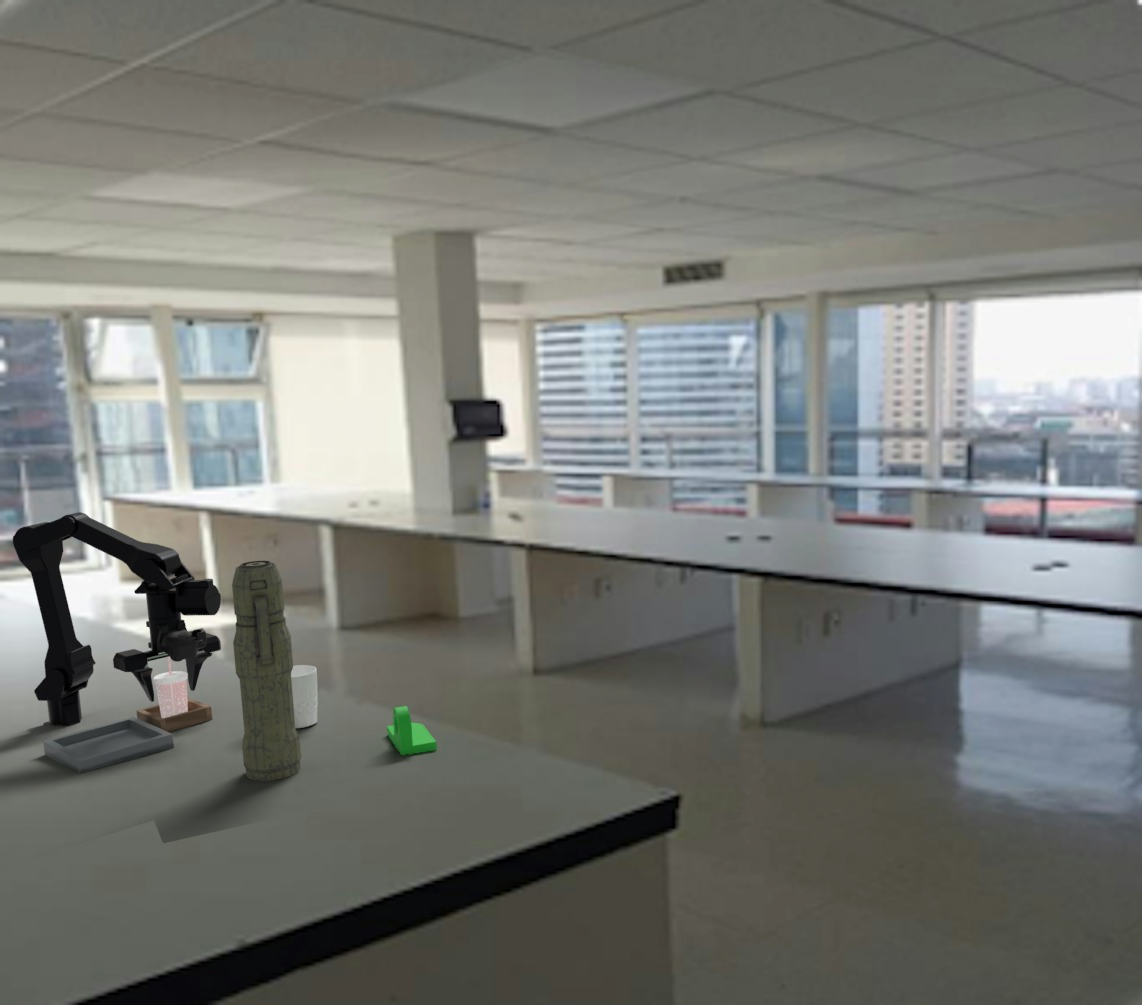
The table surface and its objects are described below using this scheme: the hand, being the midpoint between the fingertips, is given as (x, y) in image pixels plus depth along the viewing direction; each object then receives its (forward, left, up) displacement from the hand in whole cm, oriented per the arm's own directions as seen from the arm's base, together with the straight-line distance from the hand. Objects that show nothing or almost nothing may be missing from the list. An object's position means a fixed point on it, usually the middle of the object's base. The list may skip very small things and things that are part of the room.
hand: (172, 695), depth 198 cm
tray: (+6, -15, -5) cm, 17 cm away
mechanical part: (+47, +20, -6) cm, 52 cm away
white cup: (+21, +14, -5) cm, 26 cm away
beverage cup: (0, 0, -5) cm, 5 cm away
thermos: (+41, -3, -5) cm, 42 cm away
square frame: (0, 0, -5) cm, 5 cm away
